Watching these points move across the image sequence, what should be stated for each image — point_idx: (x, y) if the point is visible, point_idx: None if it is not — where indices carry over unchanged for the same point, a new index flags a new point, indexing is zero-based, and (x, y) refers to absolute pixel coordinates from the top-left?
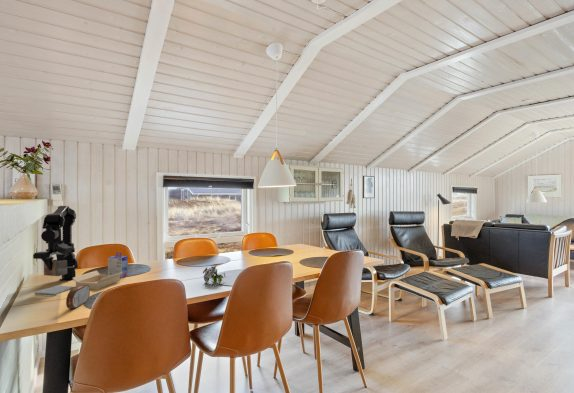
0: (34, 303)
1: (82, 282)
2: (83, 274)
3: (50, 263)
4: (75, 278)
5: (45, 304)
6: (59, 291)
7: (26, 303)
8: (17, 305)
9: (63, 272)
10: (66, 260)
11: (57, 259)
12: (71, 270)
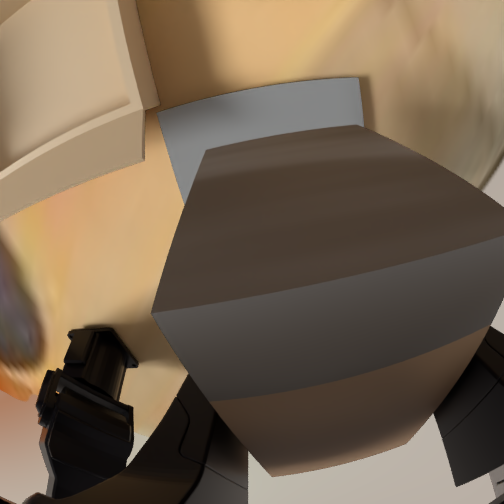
0: (468, 77)
1: (125, 41)
2: (36, 198)
3: (494, 333)
4: (121, 147)
5: (458, 6)
6: (304, 99)
7: (475, 121)
8: (494, 138)
9: (282, 141)
10: (182, 303)
11: (245, 465)
12: (79, 370)
